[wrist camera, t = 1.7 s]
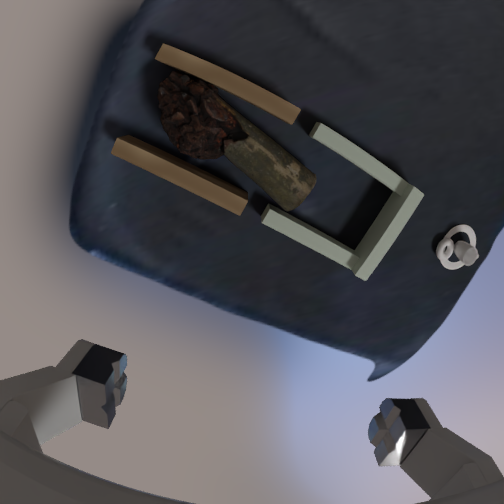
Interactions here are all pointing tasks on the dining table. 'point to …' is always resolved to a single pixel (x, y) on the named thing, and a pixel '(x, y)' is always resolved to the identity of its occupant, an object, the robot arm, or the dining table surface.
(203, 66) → the oak channel
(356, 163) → the frame
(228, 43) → the dining table surface
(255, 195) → the dining table surface
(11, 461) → the robot arm
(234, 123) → the dark piece
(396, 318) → the dining table surface
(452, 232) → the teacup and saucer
